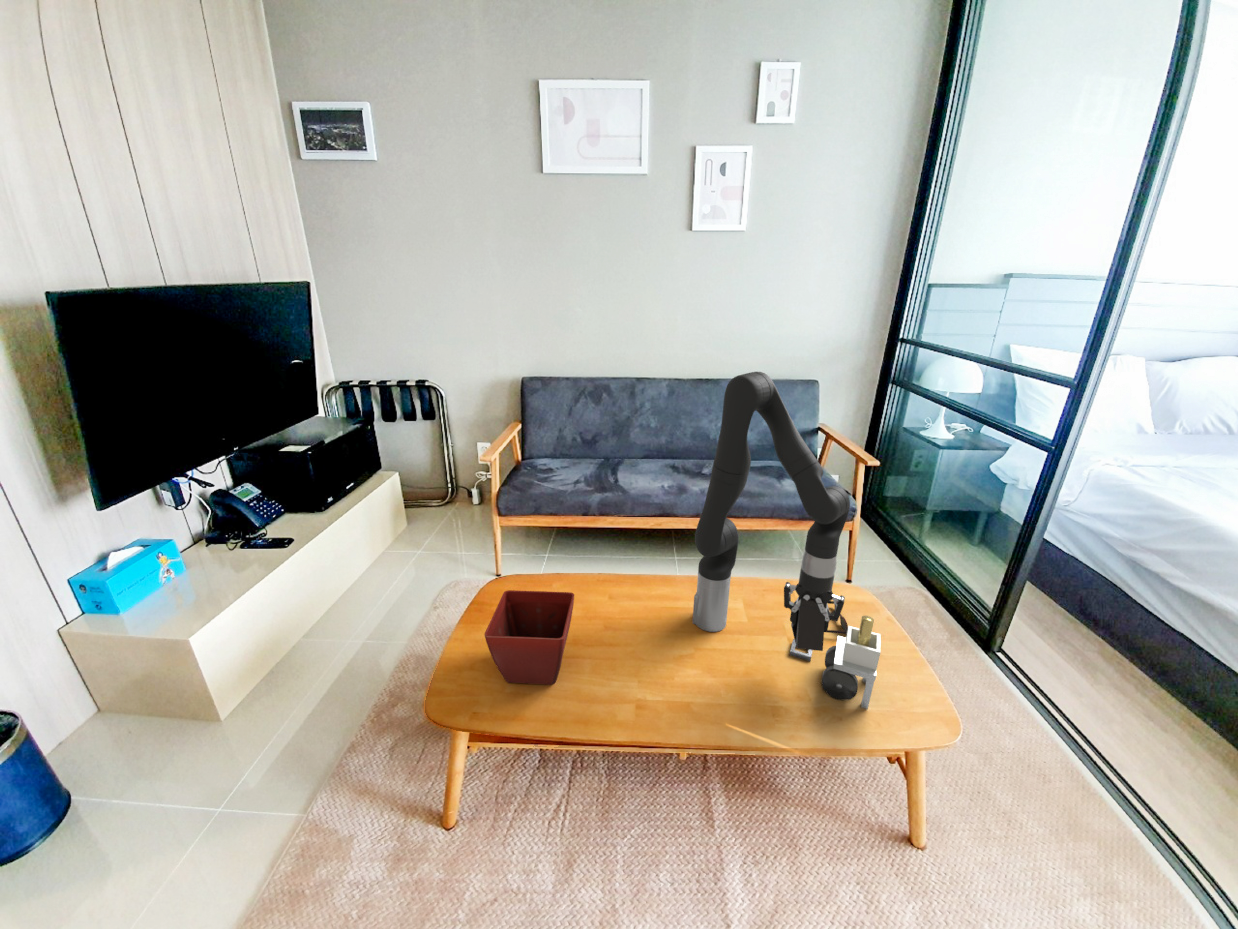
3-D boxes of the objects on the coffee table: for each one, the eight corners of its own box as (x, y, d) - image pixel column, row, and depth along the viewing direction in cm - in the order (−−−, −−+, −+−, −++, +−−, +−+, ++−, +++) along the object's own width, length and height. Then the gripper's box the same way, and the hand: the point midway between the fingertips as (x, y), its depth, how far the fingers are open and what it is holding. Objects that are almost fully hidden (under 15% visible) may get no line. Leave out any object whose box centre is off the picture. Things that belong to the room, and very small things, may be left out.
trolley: (819, 694, 125) (825, 660, 121) (823, 665, 134) (829, 633, 130) (868, 710, 120) (876, 675, 116) (869, 679, 129) (876, 646, 126)
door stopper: (822, 651, 121) (830, 610, 117) (796, 648, 122) (803, 607, 118) (815, 627, 130) (822, 588, 125) (791, 625, 131) (797, 585, 126)
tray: (843, 660, 121) (846, 643, 119) (845, 642, 127) (848, 625, 125) (876, 670, 118) (880, 652, 116) (876, 651, 124) (880, 634, 122)
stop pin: (855, 655, 122) (861, 620, 118) (855, 649, 124) (861, 614, 121) (867, 658, 121) (874, 623, 117) (866, 652, 123) (873, 617, 120)
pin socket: (789, 655, 137) (790, 651, 137) (792, 643, 142) (793, 639, 141) (810, 661, 135) (811, 657, 135) (812, 649, 140) (813, 645, 139)
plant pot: (508, 640, 142) (504, 589, 136) (576, 643, 141) (574, 591, 136) (488, 692, 124) (482, 636, 119) (565, 696, 124) (563, 639, 118)
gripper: (783, 568, 119) (775, 627, 125) (850, 584, 113) (838, 645, 119) (789, 553, 126) (781, 610, 131) (851, 568, 120) (840, 626, 125)
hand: (808, 626), depth 125 cm, fingers closed on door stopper, 6 cm apart
